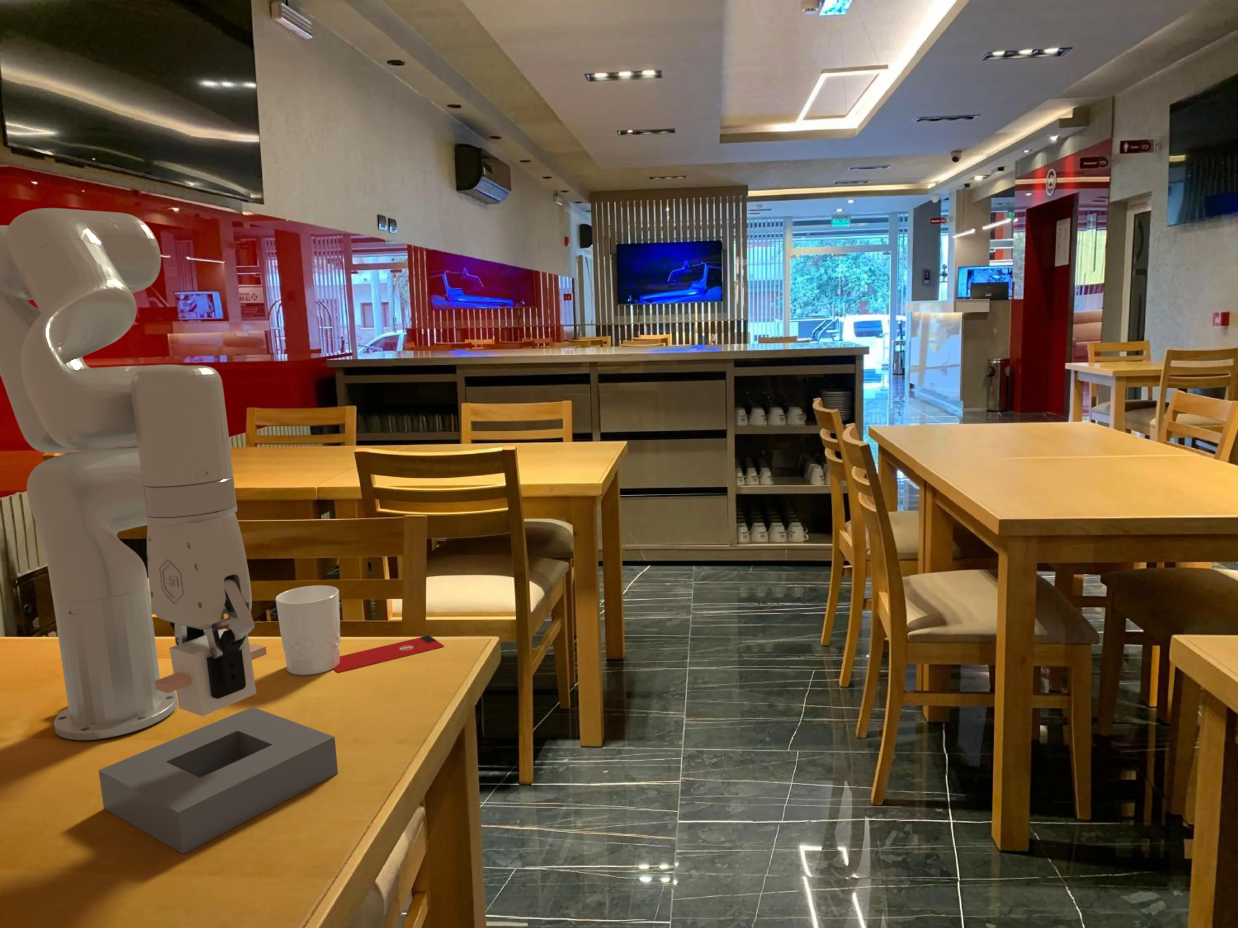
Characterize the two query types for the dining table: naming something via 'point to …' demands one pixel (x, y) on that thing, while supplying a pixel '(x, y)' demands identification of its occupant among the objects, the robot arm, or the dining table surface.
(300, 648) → the white cup
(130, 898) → the dining table surface
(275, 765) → the block
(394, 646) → the electronic device
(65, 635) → the robot arm
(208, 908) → the dining table surface
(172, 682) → the block
